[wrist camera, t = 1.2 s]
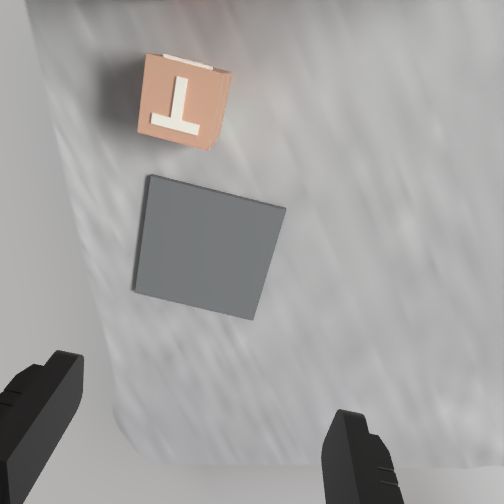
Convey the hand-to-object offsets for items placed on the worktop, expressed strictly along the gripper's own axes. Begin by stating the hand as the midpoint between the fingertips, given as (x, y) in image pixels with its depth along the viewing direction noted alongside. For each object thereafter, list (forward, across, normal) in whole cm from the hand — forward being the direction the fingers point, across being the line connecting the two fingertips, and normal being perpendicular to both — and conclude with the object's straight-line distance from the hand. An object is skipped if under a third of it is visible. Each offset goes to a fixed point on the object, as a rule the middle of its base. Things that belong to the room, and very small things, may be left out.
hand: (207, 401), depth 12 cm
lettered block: (+24, +6, -6) cm, 26 cm away
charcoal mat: (+24, +3, +7) cm, 25 cm away
